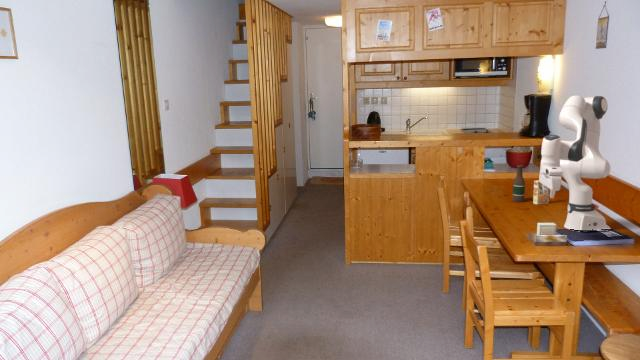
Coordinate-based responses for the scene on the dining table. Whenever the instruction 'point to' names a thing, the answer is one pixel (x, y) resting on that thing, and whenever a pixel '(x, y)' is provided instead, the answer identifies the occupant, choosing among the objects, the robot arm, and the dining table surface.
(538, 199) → the candy box
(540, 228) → the carton
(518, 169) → the beer bottle
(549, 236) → the shelf
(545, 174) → the robot arm
